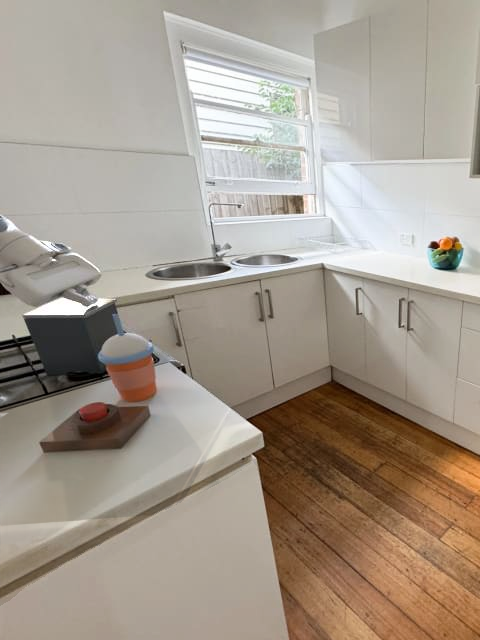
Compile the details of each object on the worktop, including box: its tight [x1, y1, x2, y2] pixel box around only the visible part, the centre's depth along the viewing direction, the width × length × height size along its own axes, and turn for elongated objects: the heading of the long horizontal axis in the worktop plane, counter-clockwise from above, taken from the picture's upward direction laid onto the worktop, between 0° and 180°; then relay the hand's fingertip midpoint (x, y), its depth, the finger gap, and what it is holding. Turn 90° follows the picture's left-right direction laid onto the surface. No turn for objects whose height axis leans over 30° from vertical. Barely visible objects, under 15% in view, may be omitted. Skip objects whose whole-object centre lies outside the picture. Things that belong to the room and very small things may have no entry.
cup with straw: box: [98, 313, 158, 403], centre depth 77 cm, size 9×9×18 cm
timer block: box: [38, 403, 151, 453], centre depth 68 cm, size 12×10×4 cm
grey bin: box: [23, 302, 119, 376], centre depth 90 cm, size 12×12×14 cm
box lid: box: [21, 298, 118, 319], centre depth 87 cm, size 12×12×1 cm
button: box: [78, 401, 108, 421], centre depth 67 cm, size 4×4×2 cm
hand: (93, 303), depth 87 cm, fingers closed, pressing on box lid
